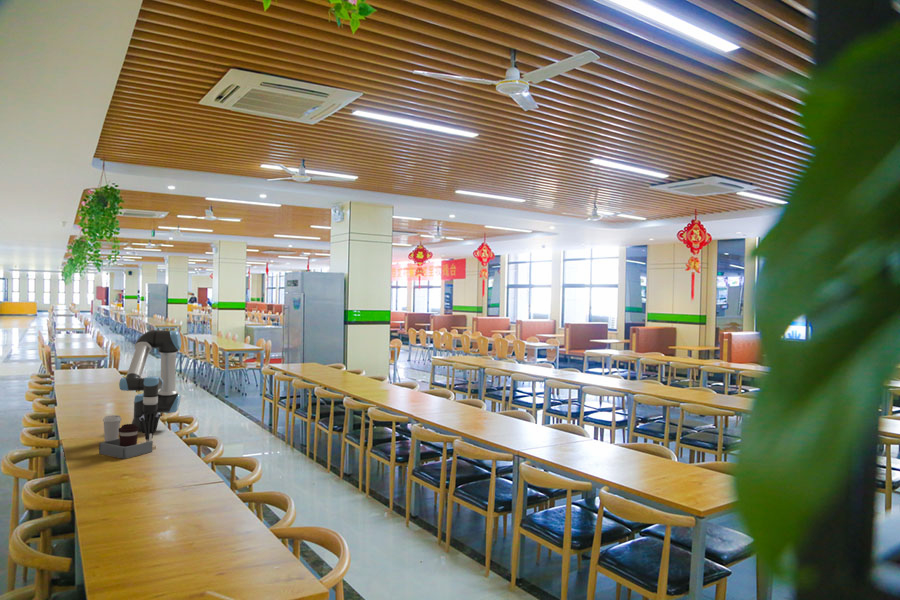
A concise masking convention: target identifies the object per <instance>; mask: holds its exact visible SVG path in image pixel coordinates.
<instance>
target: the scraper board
mask: <svg viewBox="0 0 900 600" xmlns="http://www.w3.org/2000/svg"><path fill="white" fill-rule="evenodd" d="M141 443H142V442H140V443H139V442H138V444H141ZM156 449H157V445H153V446H152V451H155V450H156Z"/></svg>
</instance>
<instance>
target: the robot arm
mask: <svg viewBox="0 0 900 600" xmlns="http://www.w3.org/2000/svg"><path fill="white" fill-rule="evenodd" d="M134 344H135V345H134V353H133V355H132V358H131V361H130V364H129V367H128V370H127V373H126V375H125V377H124V376H123V377H121V378H120V379H119V383H118V384H119V390H120V391H122V392H123V391H124V392H126V391H127V392H129V391H130V392H132V391H135V392H136V391H137V392H138V391H142V392H143V393H138V394H136V395H135V396H134V399H133V400H134V401H133V419H132V421H131V424H135V425H136V426H137V427H139V431H138V432H139V433H142V434H144V435H145V437H144V438H145V442H149V441H153V440H152V439H153V438H154V434H155V432H157V429H158V424H159V422H160V421H159V420H160V418H161V416H162V414H168V413H169V414H171V413H176V412H177V411H178V410H179V407H180V402H181V394H179V392H178V390H177V389H176V369H177V367H176V365H177V364H176V357H177V356H176V354H177V353H179V350H180V349H181V348H182V337H181V334H180V331H176V330H168V329H167V330H164V329H163V330H155V329H154V330H149V331H146V332H144V333H143V334H142V335H141V336H140V337H139V338H137V340H136V342H135V343H134ZM153 349H157V350H158V351H157V352H158V353H159V355H160V377H159V376H155V375H154V376H153V375H152V376H149V375H148V376H145V377H142V374H143V371H144V368H145V366H146V361H147V358H148V356H149V353H150V352H152V350H153ZM160 413H161V414H160Z"/></svg>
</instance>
